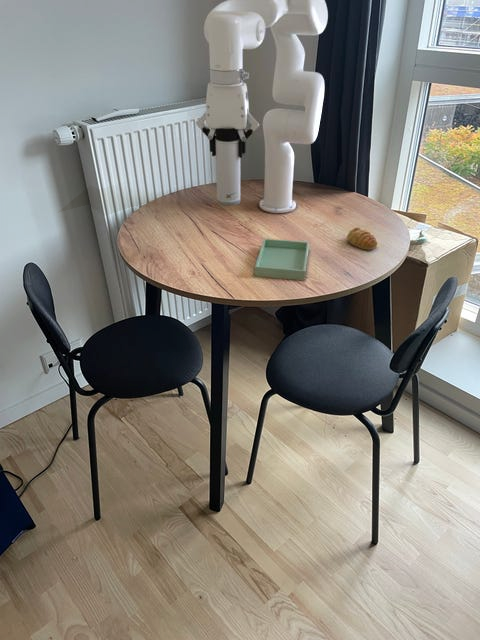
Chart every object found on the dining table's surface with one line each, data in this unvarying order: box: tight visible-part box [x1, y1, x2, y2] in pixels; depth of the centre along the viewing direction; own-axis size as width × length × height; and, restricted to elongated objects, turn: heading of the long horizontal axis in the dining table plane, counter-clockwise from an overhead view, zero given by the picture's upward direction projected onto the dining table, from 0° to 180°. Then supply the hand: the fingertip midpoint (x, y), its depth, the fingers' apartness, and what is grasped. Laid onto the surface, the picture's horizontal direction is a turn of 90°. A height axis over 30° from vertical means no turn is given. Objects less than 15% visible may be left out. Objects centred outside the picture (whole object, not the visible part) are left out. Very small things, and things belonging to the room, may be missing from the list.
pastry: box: [346, 227, 379, 251], centre depth 143 cm, size 9×7×4 cm
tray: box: [254, 238, 310, 281], centre depth 134 cm, size 17×13×3 cm
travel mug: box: [215, 128, 241, 207], centre depth 125 cm, size 6×7×20 cm
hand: (228, 154), depth 123 cm, fingers closed on travel mug, 6 cm apart
